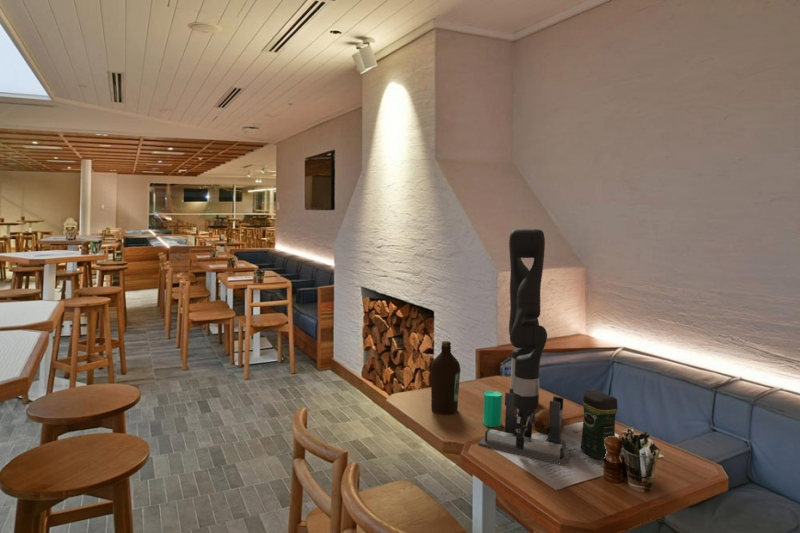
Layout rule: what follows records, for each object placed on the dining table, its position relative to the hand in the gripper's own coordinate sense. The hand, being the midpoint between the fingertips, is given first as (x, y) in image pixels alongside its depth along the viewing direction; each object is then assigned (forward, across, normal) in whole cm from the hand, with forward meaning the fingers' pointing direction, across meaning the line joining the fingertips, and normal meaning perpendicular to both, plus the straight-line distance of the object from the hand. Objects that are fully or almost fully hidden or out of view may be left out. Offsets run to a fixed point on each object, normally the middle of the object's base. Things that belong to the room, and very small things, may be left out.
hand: (523, 443), depth 157 cm
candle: (+2, -15, -15) cm, 21 cm away
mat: (+2, 0, 0) cm, 2 cm away
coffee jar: (+2, -10, +20) cm, 22 cm away
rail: (+2, 0, 0) cm, 2 cm away
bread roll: (+3, -21, +2) cm, 21 cm away
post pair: (+2, -10, 0) cm, 10 cm away
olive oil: (+2, -18, -34) cm, 39 cm away
